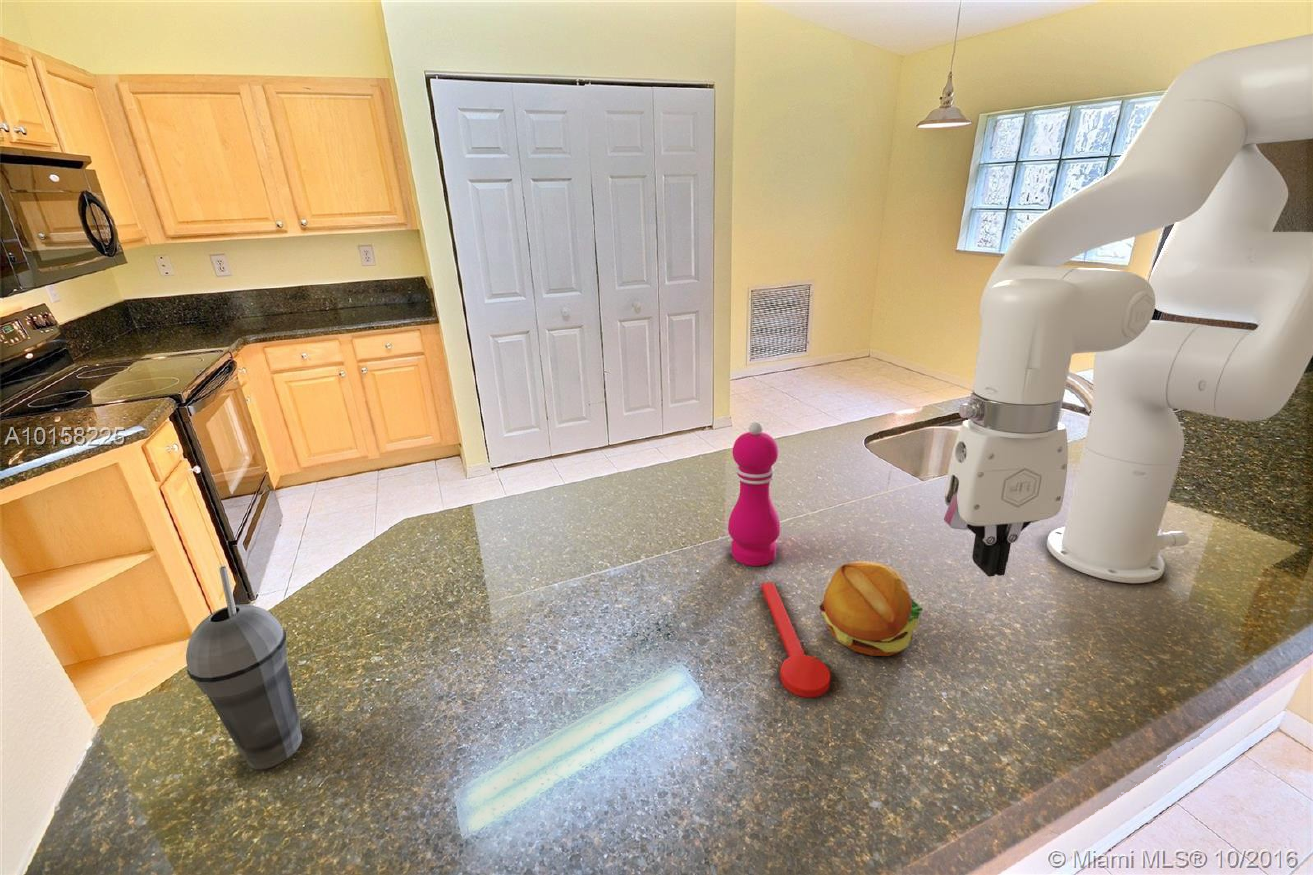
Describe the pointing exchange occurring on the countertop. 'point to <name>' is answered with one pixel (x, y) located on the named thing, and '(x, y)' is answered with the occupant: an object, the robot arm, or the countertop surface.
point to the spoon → (796, 653)
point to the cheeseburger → (870, 609)
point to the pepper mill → (754, 499)
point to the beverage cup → (247, 679)
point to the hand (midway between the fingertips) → (988, 568)
